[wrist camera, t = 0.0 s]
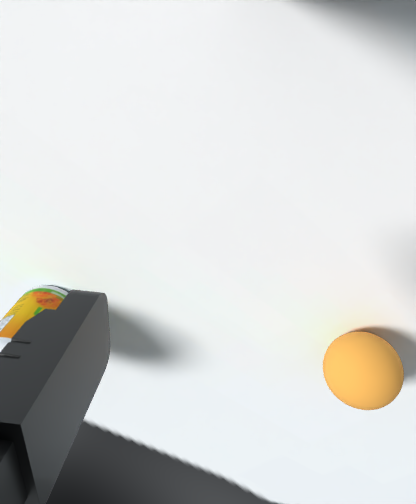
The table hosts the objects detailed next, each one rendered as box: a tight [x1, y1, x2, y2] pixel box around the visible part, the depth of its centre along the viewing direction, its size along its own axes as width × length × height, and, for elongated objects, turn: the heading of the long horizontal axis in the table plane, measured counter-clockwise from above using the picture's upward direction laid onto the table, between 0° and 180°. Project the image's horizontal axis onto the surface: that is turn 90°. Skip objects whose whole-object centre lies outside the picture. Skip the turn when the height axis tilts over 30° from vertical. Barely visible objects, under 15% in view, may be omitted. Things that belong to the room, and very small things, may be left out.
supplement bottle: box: [0, 285, 68, 352], centre depth 28 cm, size 5×5×10 cm
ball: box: [323, 332, 404, 410], centre depth 28 cm, size 6×6×6 cm
